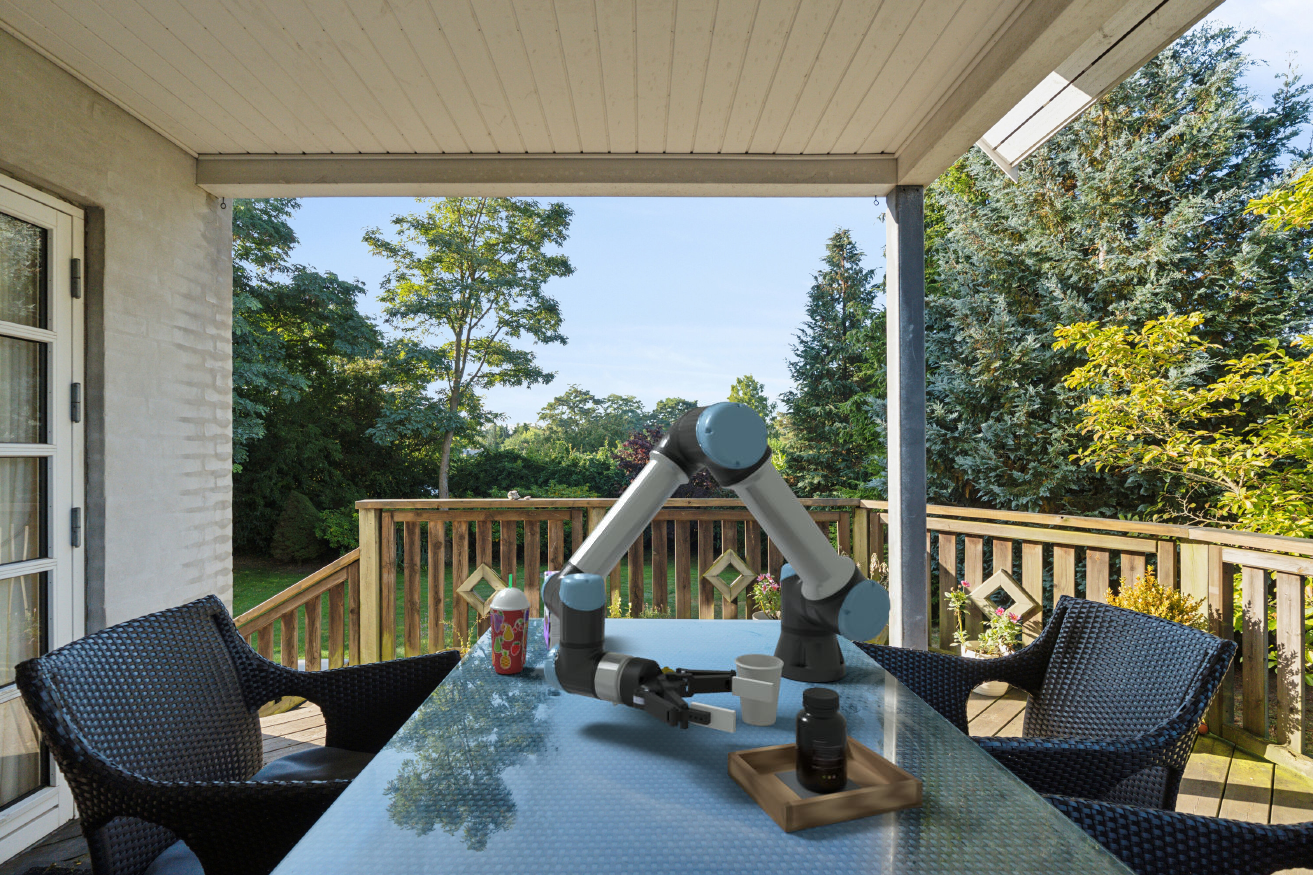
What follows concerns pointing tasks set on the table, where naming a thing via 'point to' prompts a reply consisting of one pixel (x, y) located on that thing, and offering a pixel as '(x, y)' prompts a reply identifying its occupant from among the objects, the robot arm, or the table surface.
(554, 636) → the candy box
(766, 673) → the dixie cup
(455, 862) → the table surface
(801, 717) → the supplement bottle
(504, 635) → the smoothie
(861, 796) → the tray
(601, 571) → the robot arm
